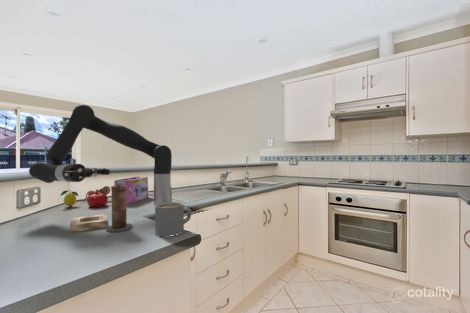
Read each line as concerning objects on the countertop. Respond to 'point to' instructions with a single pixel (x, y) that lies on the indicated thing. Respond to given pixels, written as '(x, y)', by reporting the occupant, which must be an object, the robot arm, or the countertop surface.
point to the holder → (88, 222)
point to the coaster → (110, 229)
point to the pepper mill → (118, 206)
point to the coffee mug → (170, 218)
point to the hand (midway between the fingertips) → (99, 173)
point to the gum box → (134, 188)
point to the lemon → (69, 198)
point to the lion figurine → (104, 189)
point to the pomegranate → (97, 199)
